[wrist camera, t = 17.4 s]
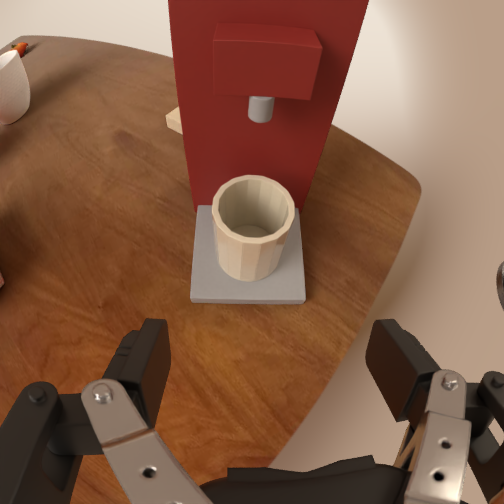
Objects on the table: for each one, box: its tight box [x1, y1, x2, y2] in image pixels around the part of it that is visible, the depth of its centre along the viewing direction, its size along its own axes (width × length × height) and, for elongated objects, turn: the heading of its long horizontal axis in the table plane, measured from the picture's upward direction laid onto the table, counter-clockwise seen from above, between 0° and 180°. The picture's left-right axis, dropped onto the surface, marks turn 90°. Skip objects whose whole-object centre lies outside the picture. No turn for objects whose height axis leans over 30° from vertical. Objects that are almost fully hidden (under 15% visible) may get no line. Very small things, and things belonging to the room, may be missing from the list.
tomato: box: [10, 42, 28, 58], centre depth 56 cm, size 8×7×7 cm
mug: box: [0, 50, 30, 125], centre depth 38 cm, size 15×11×13 cm
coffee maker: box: [168, 0, 369, 304], centre depth 21 cm, size 16×12×27 cm
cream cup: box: [212, 175, 295, 282], centre depth 27 cm, size 6×6×8 cm
